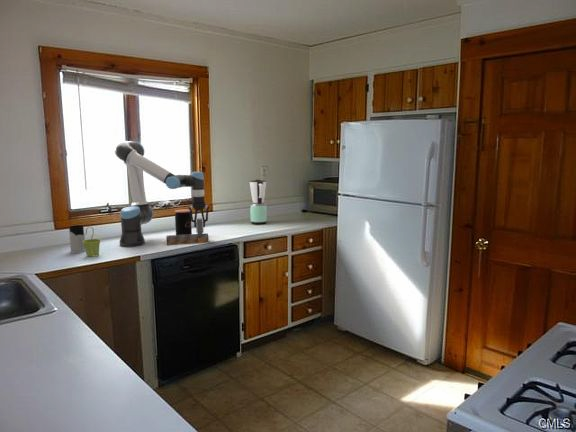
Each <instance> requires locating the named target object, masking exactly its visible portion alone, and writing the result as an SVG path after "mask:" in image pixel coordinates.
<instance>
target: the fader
mask: <svg viewBox="0 0 576 432" xmlns="http://www.w3.org/2000/svg"><path fill="white" fill-rule="evenodd" d="M196 222H197V228H198V233H197V234H198V235H203V234H204V233H203V231H202V222H203V219H202V218H198V217H197V219H196Z"/></svg>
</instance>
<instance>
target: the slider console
mask: <svg viewBox="0 0 576 432" xmlns="http://www.w3.org/2000/svg"><path fill="white" fill-rule="evenodd" d="M165 237H166V241H165V242H166V245H167V246H168V245H169V246H171V245H189V244H202V243H204V244H205V243H210V240H209V234H208V233H206V232H205V233H203V235H198V233H192V234H187V235H176V234H174V235H166V236H165Z"/></svg>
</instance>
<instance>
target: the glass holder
mask: <svg viewBox="0 0 576 432" xmlns="http://www.w3.org/2000/svg"><path fill="white" fill-rule="evenodd" d="M68 228H69V231H68V232H69V233H68V234H69V244H70V253H71V254H80V253H86V249H85V245H84V243H83V241H84V240H86V239H85V235H87V234H88V229H89V228H91V230H92V235H91V237H90V239H93V237H94V235H95V234H94V233H95V231H94V228H93V227H92V226H88V227H86V230H85V231H84V225H82V224H81V225H80V224H79V225H78V224H77V225H71V226H69V227H68Z"/></svg>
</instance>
